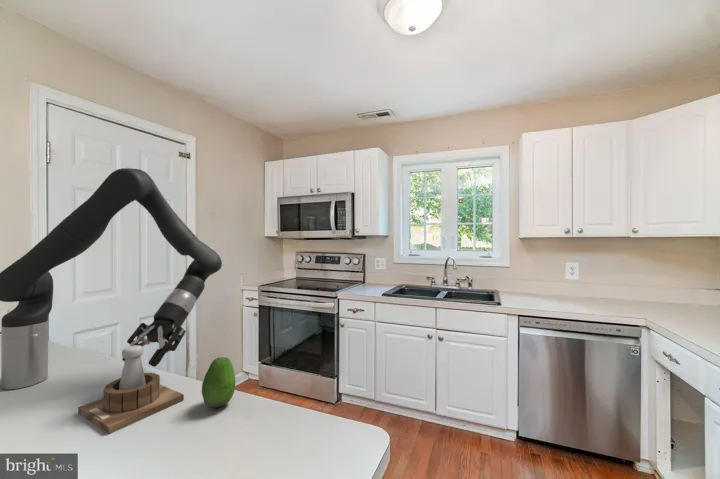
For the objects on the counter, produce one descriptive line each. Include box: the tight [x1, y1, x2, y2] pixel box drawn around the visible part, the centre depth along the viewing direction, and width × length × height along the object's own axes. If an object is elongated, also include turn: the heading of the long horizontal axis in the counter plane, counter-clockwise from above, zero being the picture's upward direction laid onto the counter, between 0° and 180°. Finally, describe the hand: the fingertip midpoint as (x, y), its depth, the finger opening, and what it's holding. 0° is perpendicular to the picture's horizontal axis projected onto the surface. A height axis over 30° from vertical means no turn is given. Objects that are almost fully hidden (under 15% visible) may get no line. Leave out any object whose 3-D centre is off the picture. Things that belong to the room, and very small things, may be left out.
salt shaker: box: [118, 345, 146, 390], centre depth 77 cm, size 6×6×13 cm
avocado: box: [201, 356, 236, 409], centre depth 77 cm, size 8×8×12 cm
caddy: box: [77, 372, 185, 435], centre depth 76 cm, size 16×16×6 cm
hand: (138, 363), depth 78 cm, fingers open, 8 cm apart
